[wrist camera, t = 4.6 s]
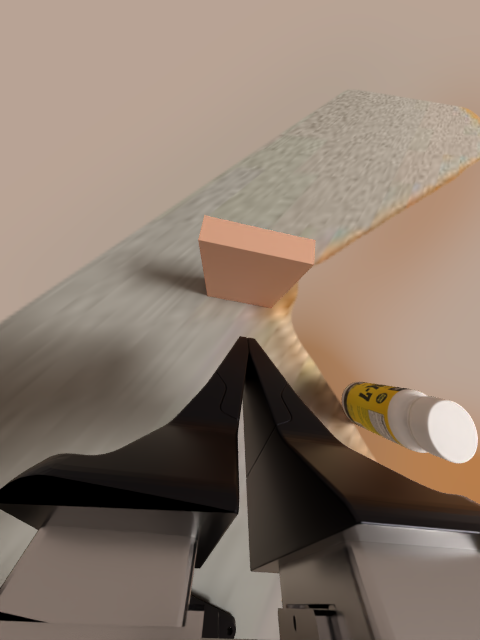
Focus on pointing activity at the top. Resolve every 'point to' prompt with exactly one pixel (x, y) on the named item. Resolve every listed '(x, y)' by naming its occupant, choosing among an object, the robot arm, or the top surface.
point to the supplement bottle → (412, 420)
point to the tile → (251, 261)
